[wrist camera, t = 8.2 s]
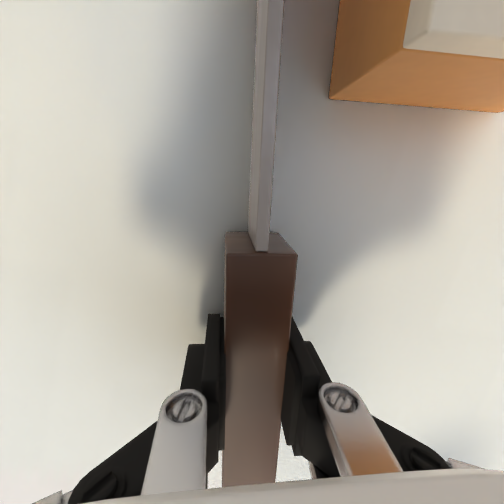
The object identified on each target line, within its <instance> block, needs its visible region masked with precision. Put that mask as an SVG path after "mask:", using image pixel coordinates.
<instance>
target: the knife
mask: <svg viewBox="0 0 504 504" xmlns="http://www.w3.org/2000/svg"><path fill="white" fill-rule="evenodd" d="M283 13H284V0H257V21H256V45H255V70H254V94H253V118H252V143H251V167H250V192H249V216H248V232H225V263H224V354H226V408H225V450H222V487H232V486H243V485H254V484H265V483H275V479H276V469H277V459H278V449H279V439H280V429H281V410H282V400H283V390H284V380H285V370H286V360H287V352H288V348H289V338H290V328H291V318H292V308H293V298H294V288H295V278H296V268H297V258H298V255H297V254H296V252H295V251H294V250H293V249H292V248H291V247H290V246H289V245H288V243H287V242H286V241H285V240H284V239H283V238H282V237H281V235H280V234H279V233H269V228H270V213H271V198H272V182H273V167H274V152H275V136H276V121H277V105H278V90H279V75H280V59H281V44H282V29H283Z"/></svg>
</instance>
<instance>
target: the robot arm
mask: <svg viewBox="0 0 504 504" xmlns="http://www.w3.org/2000/svg"><path fill="white" fill-rule="evenodd" d="M225 408H226V354H224V317H220V314H208V320H207V330H206V340H205V344H189V346H188V351H187V356H186V361H185V366H184V371H183V377H182V382H181V387H180V390H179V391H177V392H174V393H172V394H171V395H170V396H168V397H167V398H166V399H165V401H164V402H163V404H162V406H161V409H160V413H159V417H158V421H156V422H155V423H154V424H152V425H151V426H150V427H148V428H147V429H146V430H145V431H143V432H142V433H141V434H139V435H138V436H137V437H135V438H134V439H133V440H131V441H130V442H129V443H127V444H126V445H125V446H123V447H122V448H121V449H119V450H118V451H117V452H115V453H114V454H113V455H111V456H110V457H109V458H107V459H106V460H105V461H103V462H102V463H101V464H99V465H98V466H97V467H96V468H94V469H93V470H92V471H90V472H89V473H88V474H87V475H86V476H85V477H83V478H82V479H81V480H80V482H79V483H78V484H77V486H76V487H75V488H74V490H72V491H70V492H68V493H65V494H62V490H61V491H59V492H57V493H54V494H52V495H50V496H48V497H46V498H43V499H41V500H39V501H37V502H34V503H32V504H504V471H499V470H488V469H484V468H480V467H477V466H474V465H470V464H467V463H464V462H460V461H457V460H454V459H451V458H448V461H447V462H446V461H445V460H444V459H443V458H442V457H441V456H440V455H439V454H437V453H436V452H435V451H434V450H432V449H431V448H429V447H428V446H426V445H424V444H422V443H421V442H419V441H417V440H415V439H413V438H412V437H410V436H408V435H406V434H404V433H403V432H401V431H399V430H397V429H395V428H394V427H392V426H390V425H388V424H386V423H385V422H383V421H381V420H379V419H377V418H376V417H374V416H372V415H371V414H370V412H369V411H368V409H367V407H366V406H365V404H364V402H363V400H362V399H361V397H360V396H359V395H358V393H357V392H356V391H354V390H353V389H352V388H350V387H348V386H347V385H344V384H341V383H335V382H332V381H331V379H330V377H329V375H328V374H327V372H326V370H325V368H324V366H323V364H322V362H321V360H320V358H319V356H318V354H317V352H316V350H315V348H314V346H313V345H312V343H311V342H310V341H304V340H303V338H302V336H301V334H300V332H299V330H298V328H297V325H296V323H295V321H294V319H293V317H292V318H291V328H290V338H289V348H288V352H287V360H286V370H285V380H284V390H283V400H282V410H281V423H282V427H283V431H284V435H285V440H286V444H287V445H292V449H293V453H294V456H303V457H304V458H306V459H307V460H308V461H309V469H310V473H311V477H312V479H310V480H299V481H288V482H276V483H265V484H254V485H243V486H232V487H222V488H211V489H207V485H208V472H209V471H210V470H211V469H212V468H213V467H214V466H215V465H216V463H217V462H218V451H219V450H225Z"/></svg>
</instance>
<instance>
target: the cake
mask: <svg viewBox="0 0 504 504" xmlns="http://www.w3.org/2000/svg"><path fill="white" fill-rule="evenodd" d="M329 99H335V100H348V101H360V102H372V103H385V104H397V105H410V106H422V107H434V108H447V109H459V110H471V111H484V112H496V113H498V112H503V111H504V0H340V4H339V12H338V21H337V30H336V39H335V47H334V56H333V65H332V73H331V82H330V91H329Z"/></svg>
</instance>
